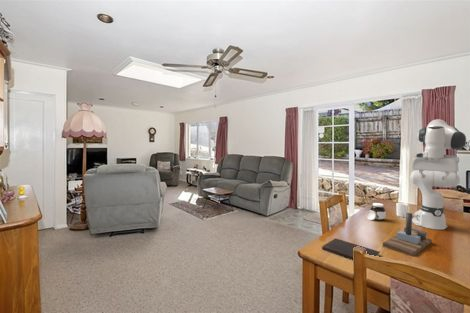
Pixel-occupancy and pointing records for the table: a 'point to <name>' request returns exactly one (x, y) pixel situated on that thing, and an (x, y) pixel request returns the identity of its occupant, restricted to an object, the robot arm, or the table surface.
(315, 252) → the table surface
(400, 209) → the white cup
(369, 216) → the spread jar
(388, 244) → the press board
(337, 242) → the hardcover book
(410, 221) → the jaw carriage
